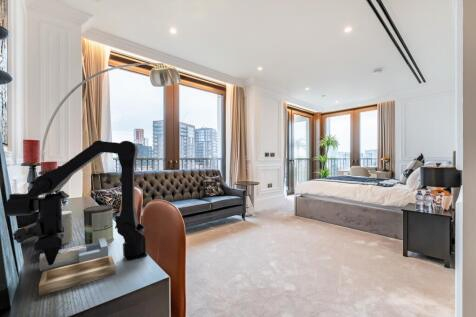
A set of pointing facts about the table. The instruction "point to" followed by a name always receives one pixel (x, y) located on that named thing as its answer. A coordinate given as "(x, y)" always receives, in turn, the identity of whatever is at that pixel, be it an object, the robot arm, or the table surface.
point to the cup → (67, 227)
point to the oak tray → (76, 274)
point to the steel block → (63, 257)
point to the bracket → (94, 251)
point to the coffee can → (98, 223)
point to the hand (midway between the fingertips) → (51, 262)
